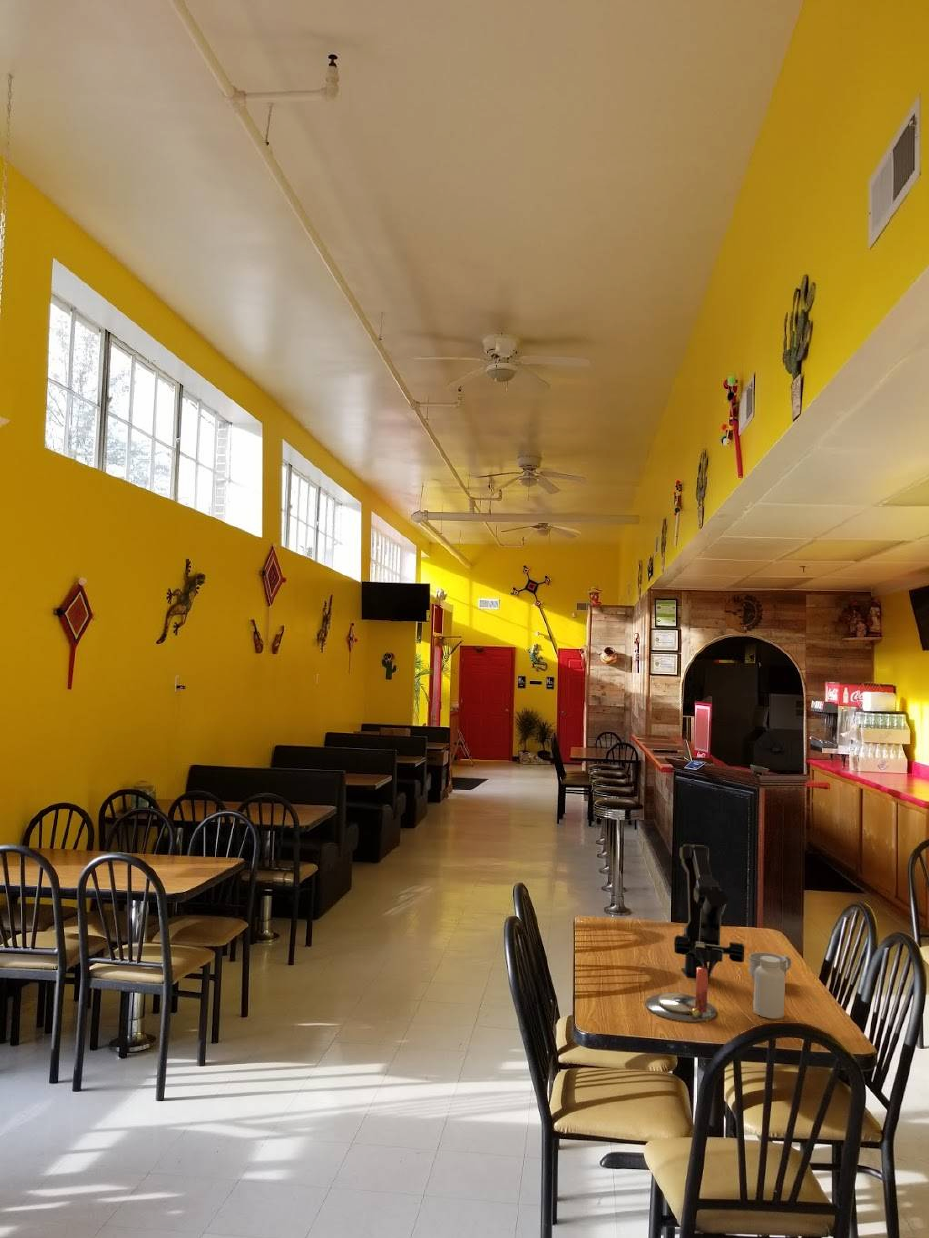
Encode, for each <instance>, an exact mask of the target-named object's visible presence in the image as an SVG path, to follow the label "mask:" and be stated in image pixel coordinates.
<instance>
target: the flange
mask: <svg viewBox="0 0 929 1238" xmlns="http://www.w3.org/2000/svg"><path fill="white" fill-rule="evenodd" d="M695 978H696V980H695V996H693V995H690V994H685V993H679V992H671V993H669V992H668V993H667V992H666V993H663V994H662V995H660V996H659V1001H658V1003H659V1005H660V1006H661V1007H662V1008H664V1009H666V1010H669V1011H672V1012H676V1013H682V1014H692V1009H693V1008H697V1009H699V1012H698V1016H699V1017H701V1018H704V1017H707V1016H711V1010H708V1009H707V1002H708V987H709V985H708V984H709V983H708V982H709V980H708V979H709V978H708V968H707V967H704V966H698V967H697V972H696V977H695Z"/></svg>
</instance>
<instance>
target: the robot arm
mask: <svg viewBox="0 0 929 1238" xmlns="http://www.w3.org/2000/svg"><path fill="white" fill-rule="evenodd" d="M679 859H681V866H682V867H683V869H684V871H685V872H686V879H687V881H686V882H687V904H688V905H687V908H688V910H687V911H688V912H687V913H688V921H687V923H686V926H685V927H684V928H683V934H682V935H680V934H679V935H678V934H677V935H676V936H674V942H673V945H674V946H673V947H674V953H675V954H676V955H677V954H678V955H682V956H684V968H683V967H681V968H680V971H681V972H682V973H683V974H684V975H685V976H686V977H688V978H696V972H697V967H698V966H704V967H707V968H708V979H710V977H711V974H712V973H713V970H714V968H715V967H716V964H717V963H720V962H723V955H724V954H725V955H729V957H728V958H729V960H730V961H732V962H735V963H744V961H745V945H744V944H743V943H740V942H734V941H730V942H729V946H724V945H721V928H722V927H721V925H722V916H723V914H724V911H725V909H726V906H727V904H728V903H727V902H728V897H727V895H726V894H725V892H724V891H722V889H721V888H720V886H719V882H718V881H717V880H716V879H714V877H713V875H712V871H711V866H710V862H709V860H710V848H709V847H708V846H705V845H702V844H687V843H685V844H683V846H680V847H679Z"/></svg>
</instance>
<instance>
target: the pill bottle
mask: <svg viewBox="0 0 929 1238" xmlns="http://www.w3.org/2000/svg"><path fill="white" fill-rule="evenodd" d="M780 962H781V961H780V959H778V958H776V957H772V956H762V957H761V958H760V965H761V966H758V967H757V968H756V970H755V980H754V979H753V981H754V983H753V985H754V986H753V988H754V989H753V1007H752V1008H753V1012H754V1013H755V1014H756V1015H757V1016H759V1015H760V1017H762V1018H765V1017H766V1019H773V1020H774V1019H775V1020H776V1019H778V1020H779V1019H782V1018H783V1017H784V1014H785V993H786V991H785V988H786V985H785V984H786V978H785V974H784V972H783V971H782V970H781V969H780Z"/></svg>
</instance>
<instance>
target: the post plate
mask: <svg viewBox="0 0 929 1238" xmlns="http://www.w3.org/2000/svg"><path fill="white" fill-rule="evenodd" d="M660 995H662V994H660V993H659V994H655V995H651V996H650V997H648V998H646V1000H645V1008H646V1009H647V1010H648V1011H649V1012H650V1013H652V1014H653V1015H655V1014H656V1015H655V1016H658V1017H660V1016H661V1018H663V1019H666V1018H667V1019H666V1020H670V1019H672V1020H671V1021H674V1020H679V1021H678V1022H680V1021H686V1022H685V1023H701V1022H700V1021H705V1022H707V1021H706V1020H709V1021H711V1020H714V1017H715V1018H716V1016H717V1009H716V1008H715V1007H714V1005H712V1004H711V1003H709V1002H708V1001H707V1009H708V1010H711V1016H707V1017H704V1018H701V1017H699V1016H698V1012H699V1009H697V1008H693V1009H692V1014H682V1013H676V1012H672V1011H669V1010H666V1009H664V1008H662V1007H661V1006H660V1005H659V1003H658V1001H659V996H660ZM710 1019H711V1020H710ZM689 1021H690V1022H689Z"/></svg>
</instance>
